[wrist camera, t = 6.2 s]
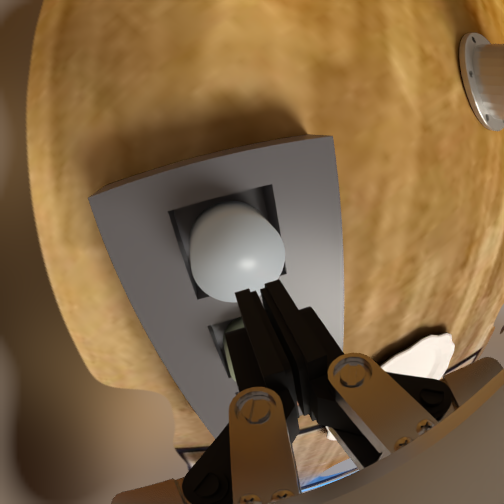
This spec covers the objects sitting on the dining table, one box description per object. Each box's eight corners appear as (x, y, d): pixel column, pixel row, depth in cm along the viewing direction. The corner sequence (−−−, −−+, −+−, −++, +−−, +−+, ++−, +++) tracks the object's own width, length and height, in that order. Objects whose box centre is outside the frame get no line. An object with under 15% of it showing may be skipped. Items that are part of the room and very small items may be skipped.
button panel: (307, 134, 18) (332, 135, 14) (326, 378, 29) (339, 400, 26) (104, 185, 16) (87, 197, 13) (211, 414, 27) (215, 439, 24)
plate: (431, 389, 43) (435, 394, 41) (325, 448, 41) (329, 455, 39) (461, 299, 32) (469, 306, 30) (315, 382, 29) (321, 394, 28)
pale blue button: (261, 191, 16) (277, 204, 13) (274, 263, 18) (290, 287, 15) (179, 213, 15) (178, 231, 12) (201, 284, 17) (206, 312, 15)
